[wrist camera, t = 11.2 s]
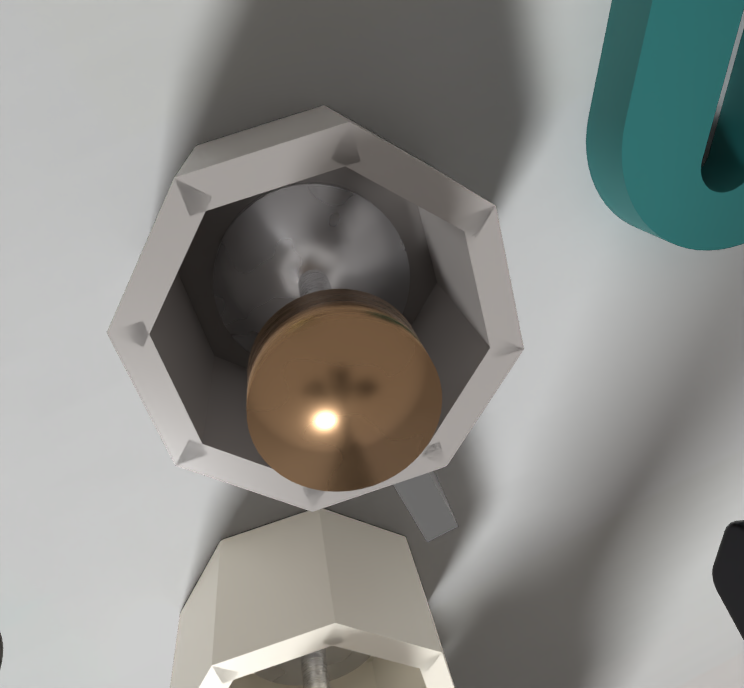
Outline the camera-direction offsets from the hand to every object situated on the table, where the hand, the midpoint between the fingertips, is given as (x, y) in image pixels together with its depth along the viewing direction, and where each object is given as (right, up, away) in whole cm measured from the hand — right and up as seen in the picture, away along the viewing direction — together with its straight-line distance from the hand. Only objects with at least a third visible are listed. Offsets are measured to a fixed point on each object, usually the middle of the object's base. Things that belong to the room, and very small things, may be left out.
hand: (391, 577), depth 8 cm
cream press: (-3, -7, +17) cm, 19 cm away
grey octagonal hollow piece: (-2, +5, +12) cm, 13 cm away
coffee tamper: (-2, +5, +11) cm, 12 cm away
